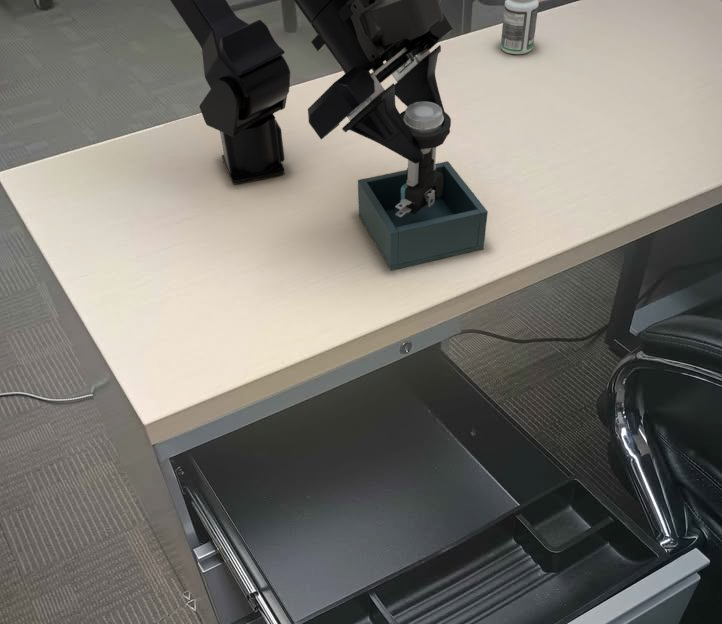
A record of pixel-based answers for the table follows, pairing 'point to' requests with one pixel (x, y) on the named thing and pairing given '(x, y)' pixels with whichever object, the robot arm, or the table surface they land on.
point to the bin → (421, 219)
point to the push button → (421, 177)
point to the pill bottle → (519, 26)
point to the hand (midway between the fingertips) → (433, 148)
